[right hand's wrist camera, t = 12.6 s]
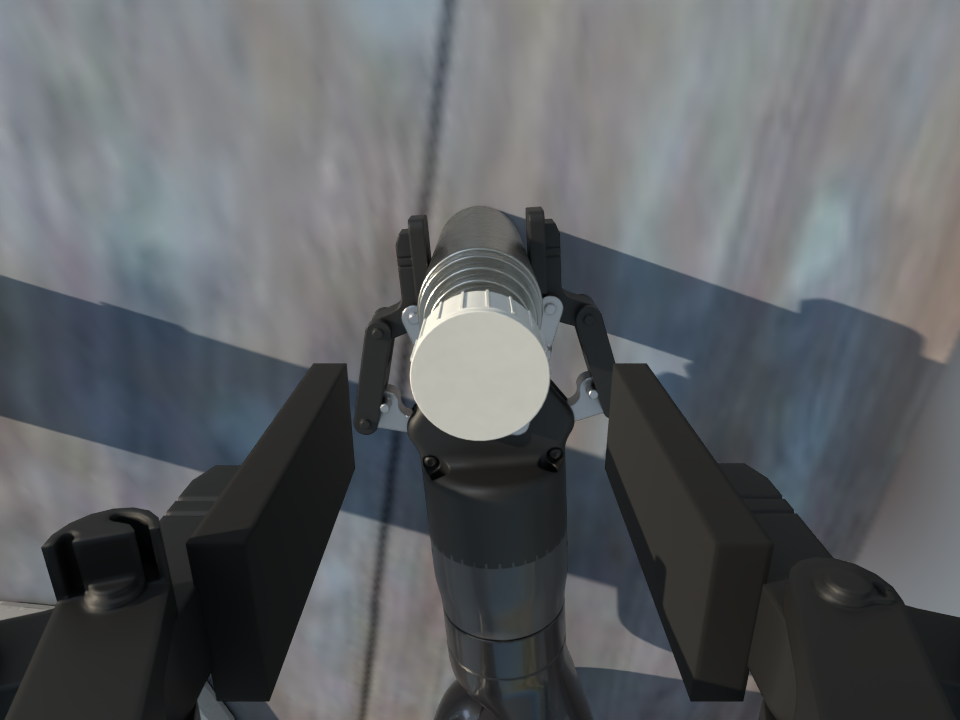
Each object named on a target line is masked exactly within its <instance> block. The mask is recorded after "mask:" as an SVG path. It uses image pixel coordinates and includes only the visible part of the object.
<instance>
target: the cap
mask: <svg viewBox="0 0 960 720" xmlns="http://www.w3.org/2000/svg"><path fill="white" fill-rule="evenodd" d="M546 351H548V349H547V346H546V343H545V339H544V336H543V333H542V330H540V331H539V328H538V326H537V324H536V322H535V320H534V319H533V317H532V315H531V312H530V311H527V310H526V309H525V308H524V307H523V306H521V305H520V304H519V303H518V302H516V301H514V300H513V299H512V297H511V296H509V297H507V296H504V295H502V294H498V293H495V292H489V290H486V291H472V292H466V293H464V291H463V292H461V294H459V295H456V296H454V297H451V298H450V299H448V300H446V301H444V302H442V301H441V302H440V303H439V306H438V307H437V308H436V309H435V310H434V311H433V312H432V313H431V314H430V315H429V317H428V318H427V319H426V318H425V319H424V321H423V324H422V328H421V331H420V335H419V338H418V340H417V339H416V342H415V345H414V349H413V352H412V355H411V358H410V361H412V363H411V370H410V383H411V389H412V392H413V396H414V399H415V401H416V403H417V405H418V407H419V408H420V410H421V411H422V413H423V414H424V415H425V416H426V417H427V419H428V420H429V421H430V422H432V423H433V424H434V425H435V426H436V427H438V428H439V429H441V430H442V431H444V432H446V433H448V434H450V435H453V436H455V437H458V438H462V439H466V440H473V441H487V440H494V439H499V438H502V437H505V436H508V435H510V434H512V433H514V432H516V431H518V430H520V429H521V428H523V427H524V426H525V425H527V424H528V423H529V422H530V421H531V420H532V419H533V418H534V417H535V416H536V415H537V413H538V412H539V410H540V409H541V407H542V406H543V404H544V402H545V400H546V397H547V394H548V391H549V386H550V375H551V371H550V365H549V361H548V357H547V354H546Z"/></svg>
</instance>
